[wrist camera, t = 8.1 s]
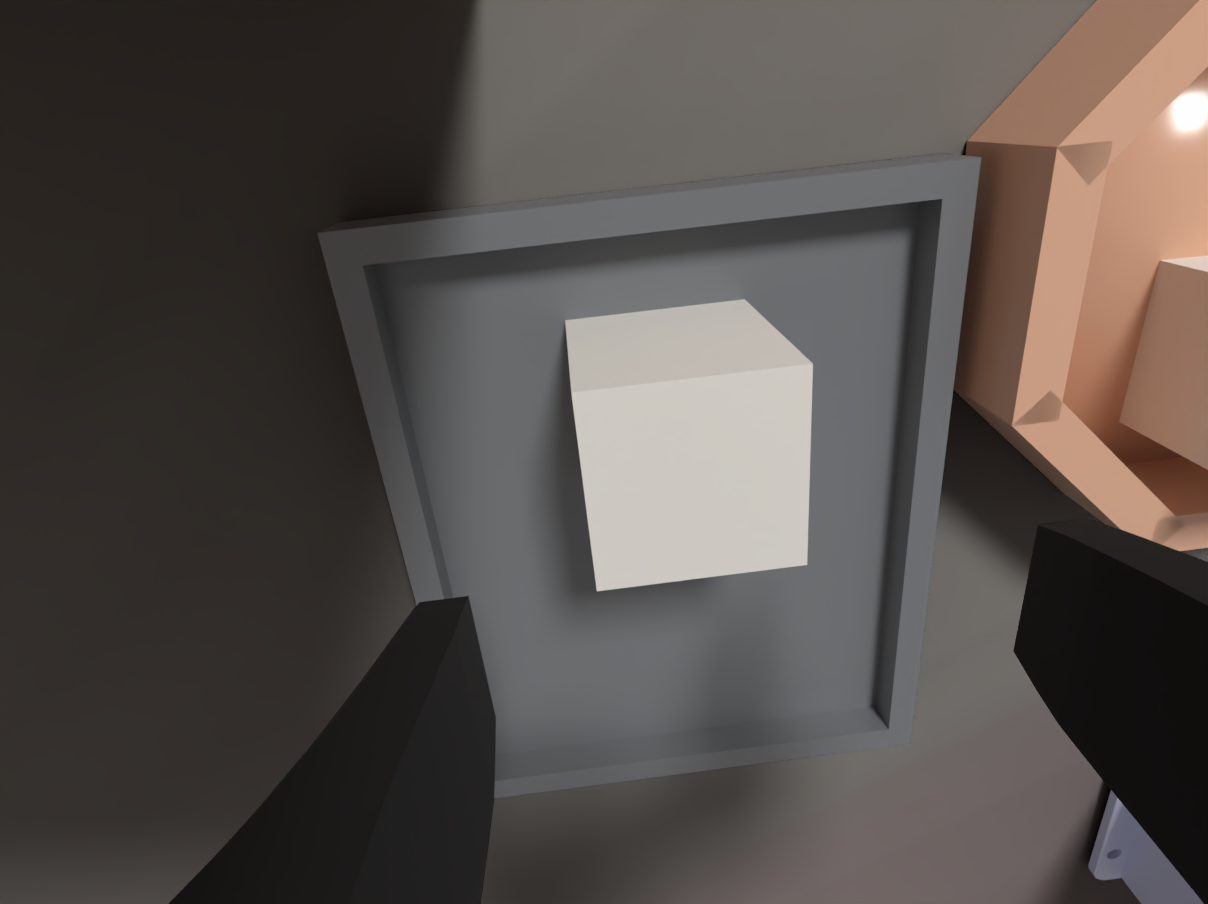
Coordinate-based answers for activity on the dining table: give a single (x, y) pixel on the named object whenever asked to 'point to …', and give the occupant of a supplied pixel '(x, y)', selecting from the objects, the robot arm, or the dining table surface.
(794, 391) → the off-white cube
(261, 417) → the dining table surface
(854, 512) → the tray
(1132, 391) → the white block
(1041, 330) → the bowl
